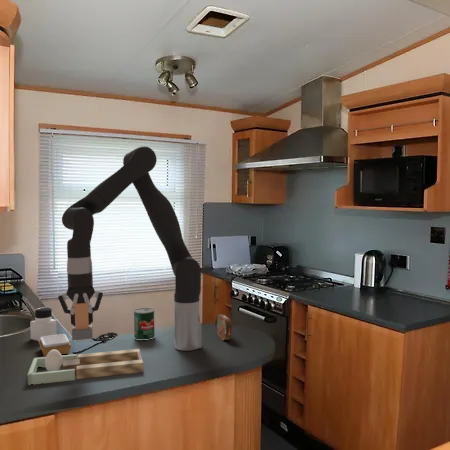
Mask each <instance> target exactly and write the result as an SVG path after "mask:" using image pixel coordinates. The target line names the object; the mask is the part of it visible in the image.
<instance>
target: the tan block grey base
mask: <svg viewBox="0 0 450 450" xmlns="http://www.w3.org/2000/svg"><path fill="white" fill-rule="evenodd" d="M74 307H75V326H73V325H72V327H71V328H72V329H71V339H72V341H81V340H89V339H91V340H92V338H94V335H93V324H92V323H91V325H89V319H88V312H89V311H88V302H87V303H77V304H74Z"/></svg>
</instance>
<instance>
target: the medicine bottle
mask: <svg viewBox="0 0 450 450" xmlns="http://www.w3.org/2000/svg"><path fill="white" fill-rule="evenodd" d="M52 313H53V312H52V308H50V307H48V306H47V307H46V306H45V307H39V308H36V309H35V310H34V319H35V320H30V325H29V326H30V328H29V329H30V339H31V340H33V341H36V342H37V341H38V340H41V339H40V337H44V336H50V335H58V320H57V319H54V318H53V317H52V316H53V315H52Z"/></svg>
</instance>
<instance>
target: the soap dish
mask: <svg viewBox="0 0 450 450" xmlns="http://www.w3.org/2000/svg"><path fill="white" fill-rule="evenodd" d="M40 339H41V340H38V345H39V347H40V349H41V352H42V354H43V357H46V356H47V354H48V353H49V352H50V351H51V350H53V349H56V350H58V351H59V352H60V353H61V355H62V354H68V355H70V351H71V348H72V344H71V342H70V339H68V337H67V335H66V333H59V334H58V333H57V335H50V336H44V337H40Z"/></svg>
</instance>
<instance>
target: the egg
mask: <svg viewBox="0 0 450 450" xmlns="http://www.w3.org/2000/svg"><path fill="white" fill-rule="evenodd" d="M62 364H63V359H62V355H61V353H60V352H59V351H58V350H56V349H53V350H51V351H50V352H49V353H48V354H47V356H46V358H45V367H44V368H45V369H46V370H47V372H49V371H59V370H60V369H61V370H62V368H63V366H62Z"/></svg>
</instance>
